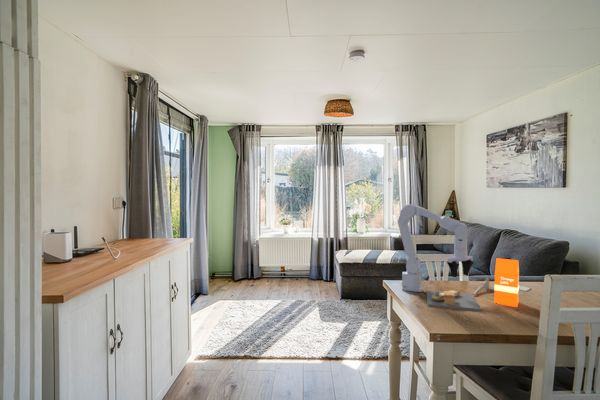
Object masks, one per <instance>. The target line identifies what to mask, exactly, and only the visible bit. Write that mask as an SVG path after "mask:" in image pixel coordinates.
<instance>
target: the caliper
mask: <svg viewBox="0 0 600 400" xmlns="http://www.w3.org/2000/svg"><path fill="white" fill-rule="evenodd" d="M484 279H485V280H484V281H483V282H482V283H481V285H480V286H478V288H476V290H475V291H474V292H472V295H473V296H474V297H476V296H478V295H479V293H481V291H483V289H485V290H489V289H490V279H489V277H487V276H486V277H485V278H484Z"/></svg>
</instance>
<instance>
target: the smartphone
mask: <svg viewBox="0 0 600 400" xmlns="http://www.w3.org/2000/svg"><path fill="white" fill-rule="evenodd" d="M531 290H532V288H530V287H526V286H523V285H519V292H521V291H522V292H528V291H531Z"/></svg>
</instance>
